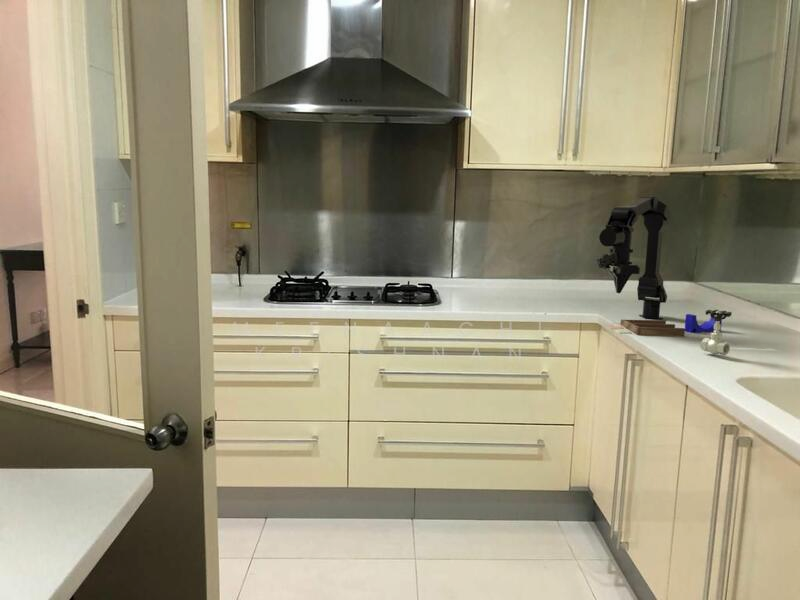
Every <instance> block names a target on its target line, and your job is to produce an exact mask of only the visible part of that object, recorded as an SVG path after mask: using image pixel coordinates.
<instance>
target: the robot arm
mask: <svg viewBox="0 0 800 600" xmlns="http://www.w3.org/2000/svg"><path fill="white" fill-rule="evenodd" d="M639 216H641V217H642V218H643V226H644V228H645V229H646V231H647V237H646V238H647V242H646V250H645V251H646V253H645V254H646V255H645V267H644V273H643V274H642V276H640V277H639V278H638V284H637V289H636V290H637V301H642V302H643V304H642V314H638V317H641V318H643V319H644V320H663V319H664V318H663V317H662V316H660V312H661V311H660V310H661V303H664V304H665V303H667V300H668V299H667V298H668V295H667V292H666V290H665V286H664V278H663V277H662V276H661V274H660V265H661V252H662V242H663V233H664V231H665V230H666V228H667V227H668V226H669V221H670V219H671V211H670V209H669V207H668V205H667V204H665V203H663V202H661V200H659V199H658V197H657V196H651V195H650V196H649V195H648V196H645V195H644V196H641V197H640V199H637V200H635V201H634V202H631V203H630V204H628V205H619V206H615V207H613V208H612V210H611V212H610V214H609V216H608V218H607V221H606V223H605V229H603V230H602V231H601V232H600V234H599V236H598V239H599V242H600V243H601V245H603V246H604V247H610V248H609V250H608V252H607V253H603V254H601V255H598V256H595V257H593V262H594V265H595V267H596V268H598V269H600V268H601V269H603V270H606V269H609V270H607V272H608V273H609V274H610V276H612V280H613V285H614V288H615V292H616V293H617V294H621V292H622V291H623V289H624V287H625V285H626V284H627V282H628V280H629V279H630V277H631V276H632V275H640V273H641V267H640V266H639V265H638V264H634V263H633V262H632V261H631V253H633V252H634V249H633V248H632V237H633V236H632V235H633V232H634V231H635V229H634V227H633V226H634V224H635V223H636V222H637V221H639V219H638V217H639Z"/></svg>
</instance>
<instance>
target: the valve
mask: <svg viewBox="0 0 800 600" xmlns="http://www.w3.org/2000/svg"><path fill="white" fill-rule="evenodd" d="M705 315H707V316H708V315H709V316H710V318H711V317H712V318H713V319H714V321H716V324H714V329H715V330H714V331H713V332H710V338H709V337H704V338H703V339H702V340H701V342H700V349H701V350H703V351H704V352H708V353H710V354H713V355H718V354H719V355H721V356H727V355H728V354H729V353H730V351H731V345H730V343H729V342H727V341H725V340H724V341H723V340H722V338H723V333H721V332H720V331H719V330H720V327H721V328H722V323H721V324H719V323H720V321H723V320H726V318H729V317H732V311H727V310H719V309H714V310H712V309H707V310H705Z"/></svg>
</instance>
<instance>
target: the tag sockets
mask: <svg viewBox="0 0 800 600" xmlns="http://www.w3.org/2000/svg"><path fill="white" fill-rule="evenodd" d="M608 327H609V328H610V329H615V332H617V333H619V334H627V335H628V334H630V335H632V334H634V335H637V336H655V337H658V336H660V337H685V333H686V331H685V327H676V324H674V323H667V320H663V319H620V325H619V326H618V325H609V326H608Z"/></svg>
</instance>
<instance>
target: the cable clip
mask: <svg viewBox="0 0 800 600" xmlns="http://www.w3.org/2000/svg"><path fill="white" fill-rule="evenodd" d="M722 321H723V320H722ZM722 321H720V323H719V324H721V325H722V324H723V323H722ZM714 324H716V321H714V319H713V318H712V317H711V316H710V318H709V320H707V321H704V322H703V323H701V324H699V323H698V320H697V315H695V314H691V313H686V314H685V321H684V329H685V333H689V332H690V333H689V334H693V333H694V334H699V333H701V332H705V333H713V331H714V330H715V329H714ZM719 331H720V333H721V331H722V326H721V327H720V330H719ZM701 334H702V333H701Z"/></svg>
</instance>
